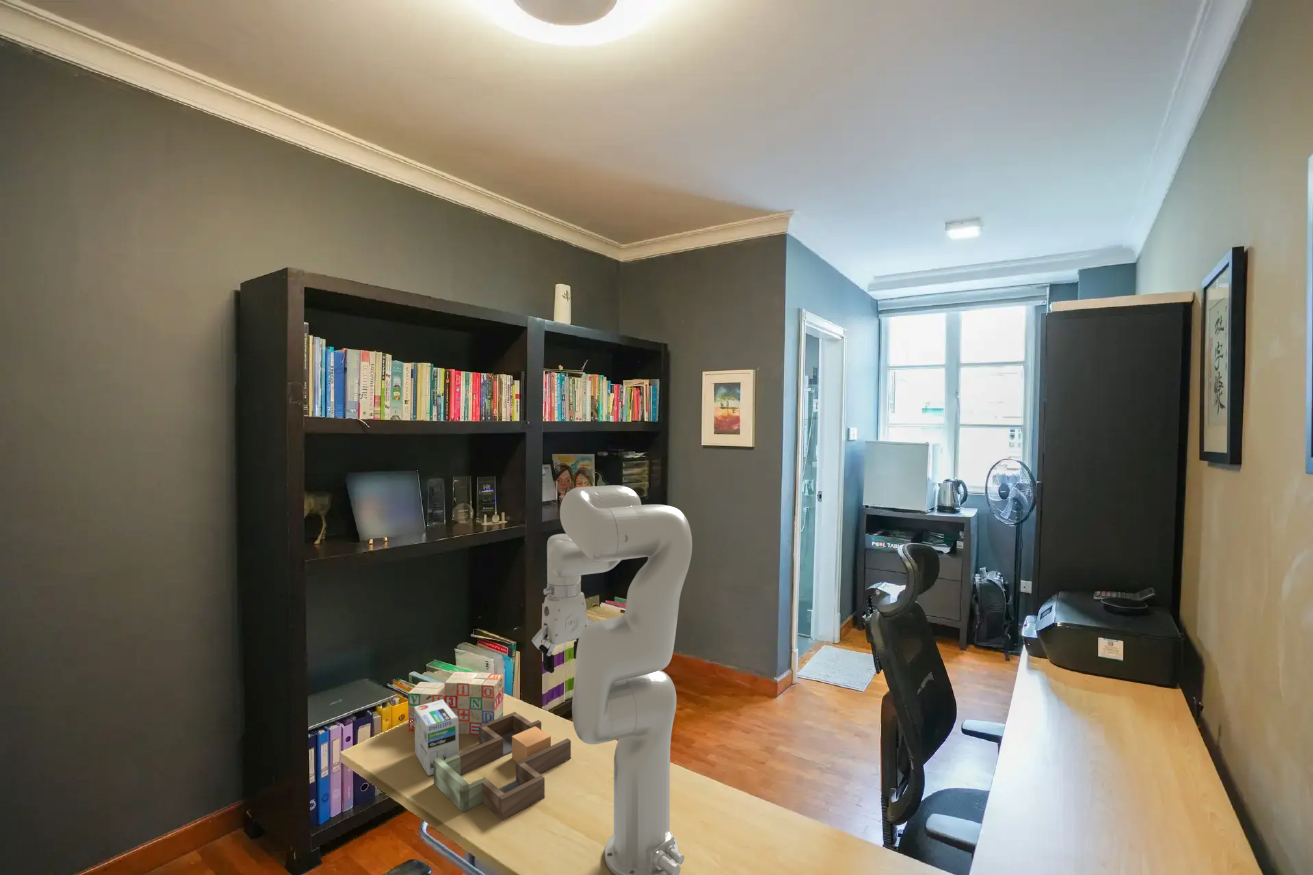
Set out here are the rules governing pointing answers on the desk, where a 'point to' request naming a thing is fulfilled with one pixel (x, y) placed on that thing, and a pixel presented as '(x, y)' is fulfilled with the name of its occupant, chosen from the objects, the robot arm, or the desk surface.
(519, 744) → the block
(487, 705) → the stack of blocks
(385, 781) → the desk surface
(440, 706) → the light bulb box
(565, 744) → the box
